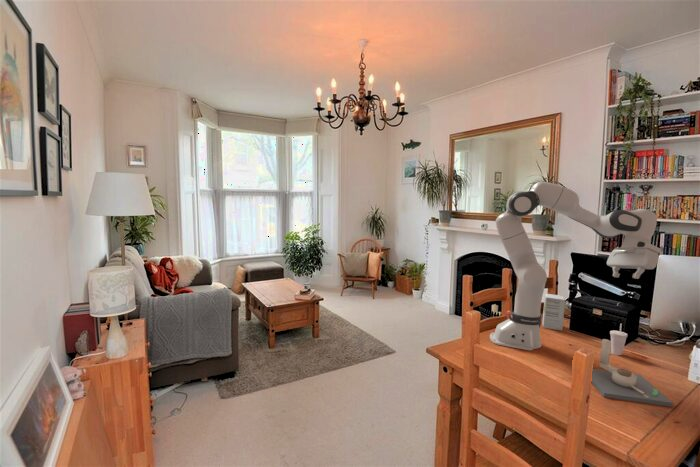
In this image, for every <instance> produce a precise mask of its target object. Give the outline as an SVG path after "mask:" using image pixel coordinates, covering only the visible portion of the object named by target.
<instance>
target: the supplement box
mask: <svg viewBox="0 0 700 467" xmlns="http://www.w3.org/2000/svg"><path fill="white" fill-rule="evenodd" d="M565 307H566V299H565V296H564V295H559V294H554V293H553V294H552V293H551V294H550V293H544V300H543V311H542V320H541V323H542V328H544V329H549V330H556V331H563V328H564V318H565V315H564V314H565Z"/></svg>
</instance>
